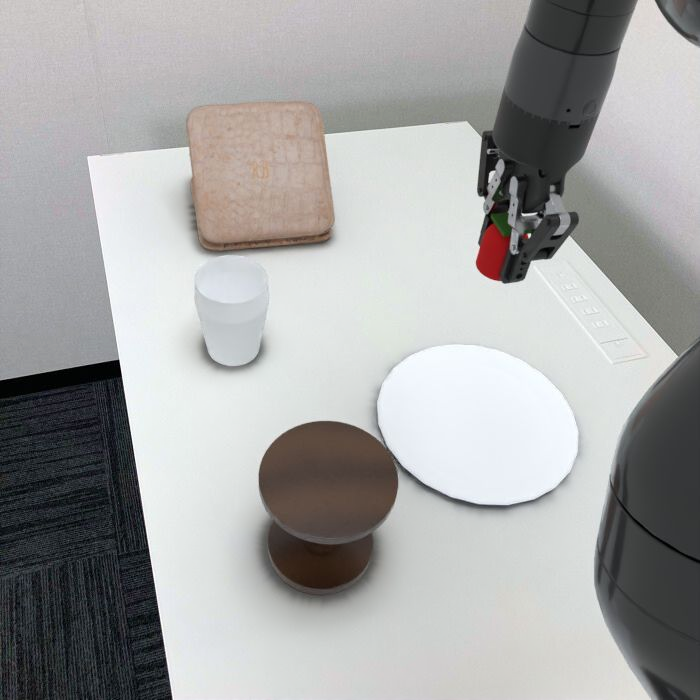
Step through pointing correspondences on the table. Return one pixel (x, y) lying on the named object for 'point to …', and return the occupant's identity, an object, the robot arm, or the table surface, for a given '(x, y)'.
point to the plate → (477, 425)
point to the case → (259, 174)
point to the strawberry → (495, 246)
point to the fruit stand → (325, 503)
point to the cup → (232, 307)
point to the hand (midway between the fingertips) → (499, 262)
